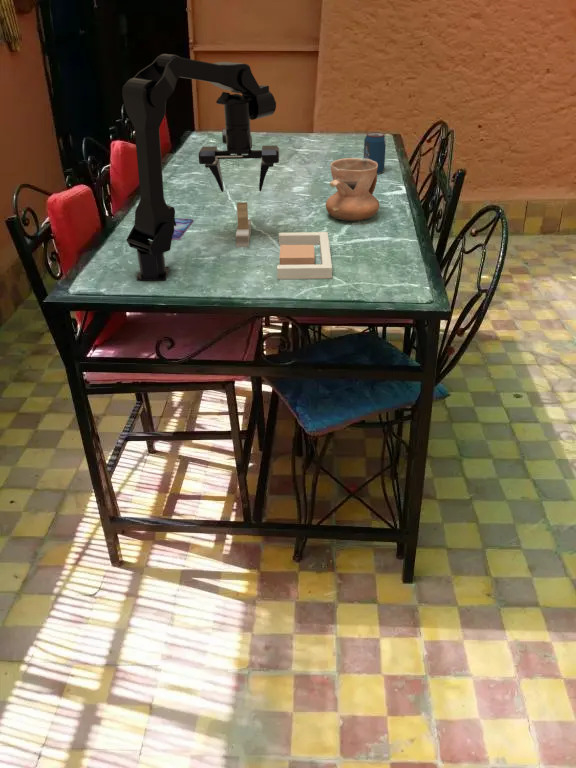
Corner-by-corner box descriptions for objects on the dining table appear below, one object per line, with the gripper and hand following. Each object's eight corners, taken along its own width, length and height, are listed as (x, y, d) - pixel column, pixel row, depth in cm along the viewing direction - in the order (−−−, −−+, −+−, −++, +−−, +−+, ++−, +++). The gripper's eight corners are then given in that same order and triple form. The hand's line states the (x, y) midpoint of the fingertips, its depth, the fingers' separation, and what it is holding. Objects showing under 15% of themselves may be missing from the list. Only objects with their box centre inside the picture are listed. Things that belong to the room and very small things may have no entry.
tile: (314, 267, 146) (314, 257, 145) (279, 268, 146) (279, 257, 145) (313, 254, 153) (313, 244, 151) (280, 254, 153) (280, 244, 152)
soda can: (386, 170, 211) (389, 132, 204) (380, 175, 206) (382, 137, 199) (366, 168, 213) (368, 130, 207) (360, 173, 208) (361, 135, 202)
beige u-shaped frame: (327, 241, 158) (327, 232, 157) (331, 278, 140) (332, 267, 139) (279, 242, 158) (279, 232, 157) (277, 279, 140) (277, 268, 139)
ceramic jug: (350, 230, 165) (353, 175, 157) (311, 217, 173) (311, 164, 166) (394, 214, 175) (399, 161, 167) (355, 202, 184) (357, 152, 176)
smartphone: (194, 219, 173) (179, 239, 160) (194, 222, 173) (179, 242, 161) (168, 217, 174) (151, 237, 161) (168, 220, 174) (151, 240, 162)
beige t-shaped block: (248, 247, 156) (246, 212, 151) (236, 248, 156) (234, 212, 151) (251, 230, 166) (249, 196, 161) (239, 230, 166) (237, 196, 161)
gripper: (278, 115, 152) (280, 181, 161) (201, 116, 153) (206, 182, 161) (277, 125, 143) (279, 194, 152) (195, 126, 143) (201, 195, 152)
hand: (241, 191), depth 154 cm, fingers open, 9 cm apart
